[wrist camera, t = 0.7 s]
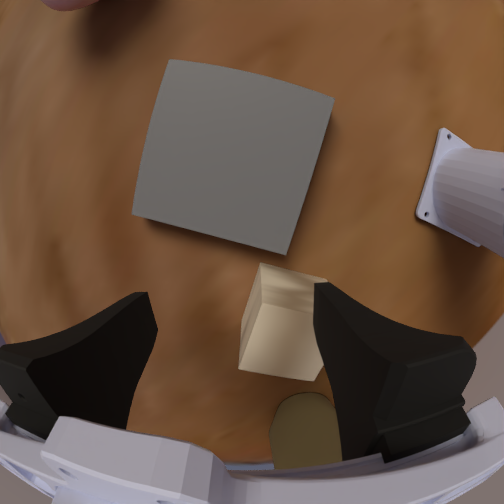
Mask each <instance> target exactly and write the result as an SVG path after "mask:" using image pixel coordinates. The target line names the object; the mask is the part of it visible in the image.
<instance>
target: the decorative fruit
mask: <svg viewBox="0 0 504 504" xmlns="http://www.w3.org/2000/svg"><path fill="white" fill-rule="evenodd" d="M41 1H42V2H43V3H44V4H46V5H47V6H48V7H50V8H51V9H54V10H57V11H72V10H76V9H80V8H83V7H86V6H88V5H91V4H93V3H95V2H97V1H100V0H41Z"/></svg>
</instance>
